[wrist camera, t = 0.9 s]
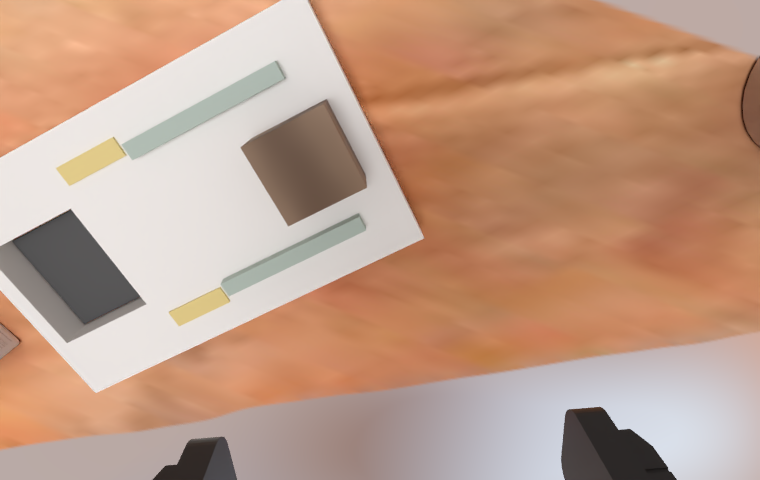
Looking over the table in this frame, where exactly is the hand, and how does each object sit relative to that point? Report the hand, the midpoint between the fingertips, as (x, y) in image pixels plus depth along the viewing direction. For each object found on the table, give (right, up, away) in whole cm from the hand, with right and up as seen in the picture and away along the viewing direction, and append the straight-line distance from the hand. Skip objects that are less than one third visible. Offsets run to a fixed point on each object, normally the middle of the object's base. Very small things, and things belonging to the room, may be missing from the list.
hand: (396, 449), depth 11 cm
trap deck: (-13, +7, +20) cm, 25 cm away
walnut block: (-5, +10, +17) cm, 20 cm away
